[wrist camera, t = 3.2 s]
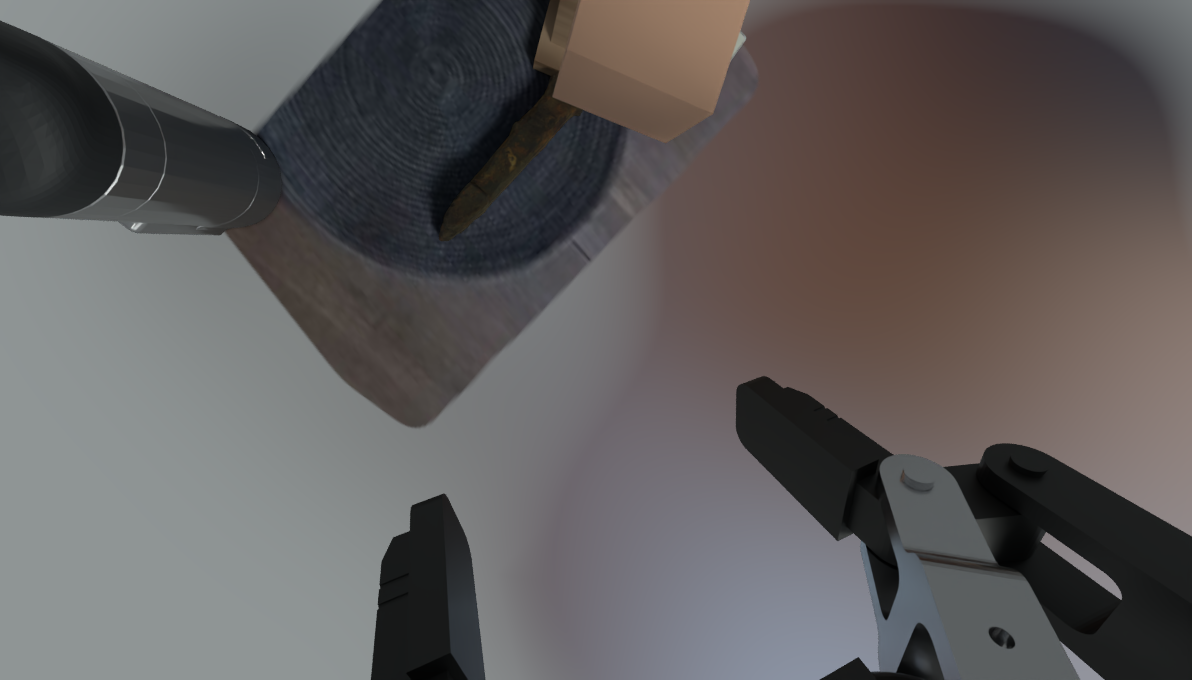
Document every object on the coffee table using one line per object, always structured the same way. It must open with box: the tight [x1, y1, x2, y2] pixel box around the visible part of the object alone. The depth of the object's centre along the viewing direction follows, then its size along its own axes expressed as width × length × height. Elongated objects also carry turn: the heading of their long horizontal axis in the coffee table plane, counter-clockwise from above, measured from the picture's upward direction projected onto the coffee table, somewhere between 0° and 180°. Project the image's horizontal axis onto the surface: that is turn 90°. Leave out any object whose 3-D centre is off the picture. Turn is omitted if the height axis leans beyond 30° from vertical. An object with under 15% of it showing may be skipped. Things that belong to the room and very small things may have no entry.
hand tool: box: [439, 75, 583, 241], centre depth 41 cm, size 19×4×5 cm, turn 135°
